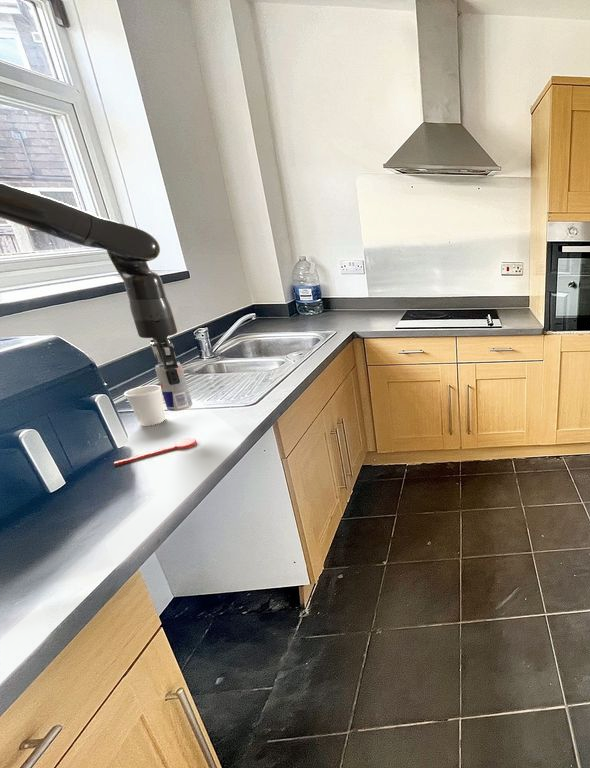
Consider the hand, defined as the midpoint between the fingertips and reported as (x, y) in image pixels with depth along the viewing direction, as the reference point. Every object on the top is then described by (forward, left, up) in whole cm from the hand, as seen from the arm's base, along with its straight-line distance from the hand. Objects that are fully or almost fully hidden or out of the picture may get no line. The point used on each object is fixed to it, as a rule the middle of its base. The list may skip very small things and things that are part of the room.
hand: (172, 381), depth 107 cm
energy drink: (0, 0, -8) cm, 8 cm away
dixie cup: (-13, +14, -16) cm, 25 cm away
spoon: (-3, -9, -16) cm, 19 cm away
